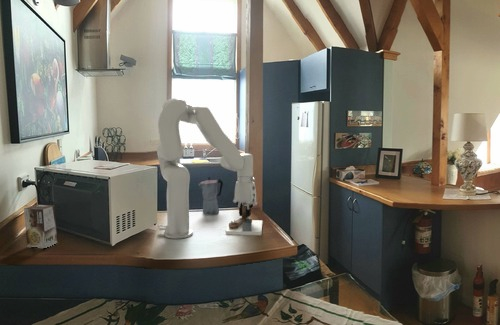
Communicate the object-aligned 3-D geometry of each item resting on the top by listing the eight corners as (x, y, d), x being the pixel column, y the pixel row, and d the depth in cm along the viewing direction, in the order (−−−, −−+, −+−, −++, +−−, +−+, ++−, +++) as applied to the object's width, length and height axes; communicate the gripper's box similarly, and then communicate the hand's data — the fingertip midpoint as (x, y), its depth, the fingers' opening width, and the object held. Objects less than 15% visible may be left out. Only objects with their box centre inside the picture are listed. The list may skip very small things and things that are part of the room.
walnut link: (235, 228, 156) (235, 212, 155) (227, 227, 158) (227, 211, 157) (250, 220, 169) (250, 205, 168) (242, 219, 171) (242, 204, 170)
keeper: (229, 230, 154) (229, 222, 154) (231, 226, 161) (231, 218, 160) (251, 231, 154) (251, 223, 153) (252, 226, 160) (252, 219, 160)
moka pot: (194, 213, 189) (194, 177, 186) (217, 208, 199) (216, 174, 197) (204, 216, 182) (204, 179, 179) (227, 211, 192) (227, 176, 190)
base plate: (225, 234, 154) (225, 231, 154) (230, 222, 172) (230, 219, 172) (261, 235, 153) (261, 232, 153) (262, 223, 171) (262, 220, 171)
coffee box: (58, 243, 141) (55, 205, 139) (45, 249, 135) (43, 209, 133) (39, 241, 143) (36, 204, 141) (26, 247, 136) (23, 207, 135)
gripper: (263, 179, 165) (263, 216, 167) (234, 176, 173) (234, 212, 175) (256, 182, 158) (255, 220, 161) (226, 178, 166) (226, 215, 169)
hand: (244, 215), depth 168 cm, fingers closed on walnut link, 3 cm apart
